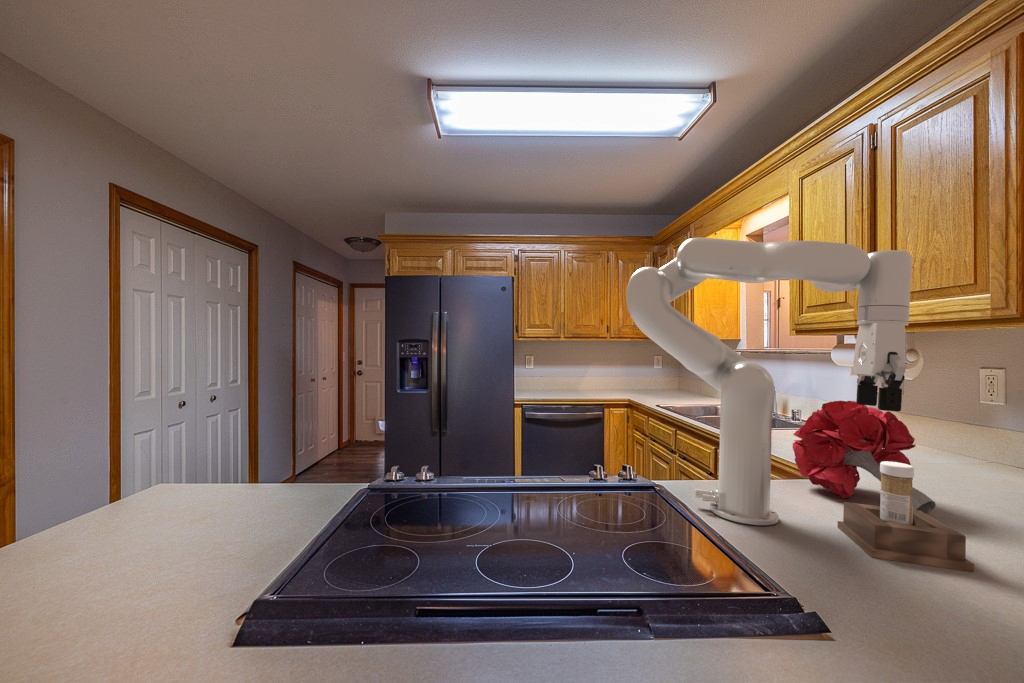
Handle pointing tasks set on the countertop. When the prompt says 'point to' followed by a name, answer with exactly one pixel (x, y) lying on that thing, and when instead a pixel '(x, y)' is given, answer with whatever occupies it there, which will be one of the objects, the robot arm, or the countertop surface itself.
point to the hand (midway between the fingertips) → (877, 407)
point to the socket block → (905, 538)
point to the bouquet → (852, 447)
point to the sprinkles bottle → (896, 492)
